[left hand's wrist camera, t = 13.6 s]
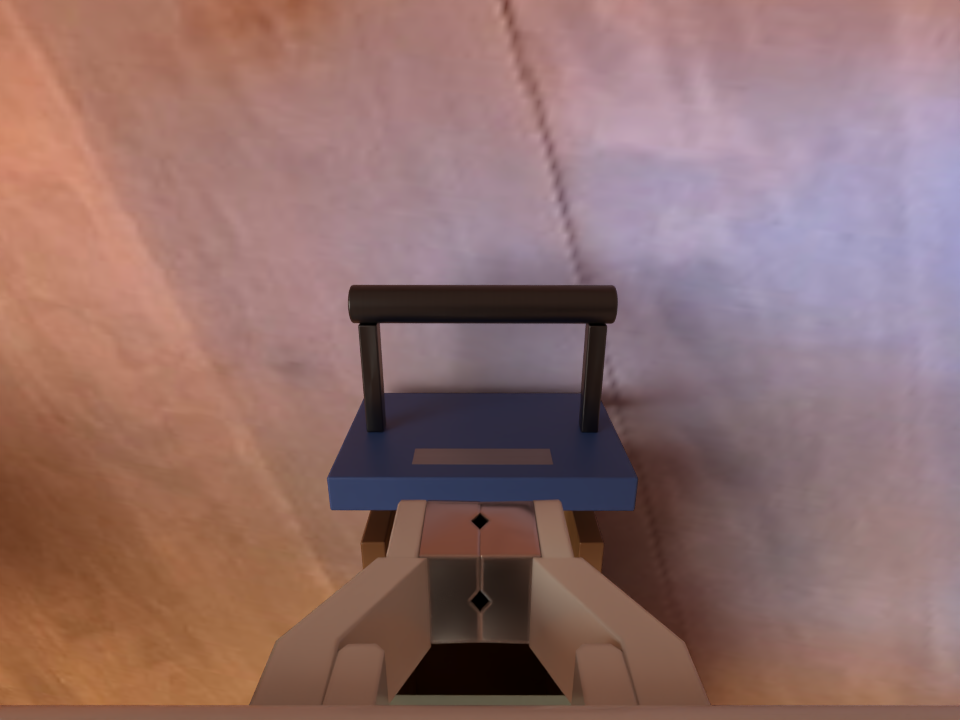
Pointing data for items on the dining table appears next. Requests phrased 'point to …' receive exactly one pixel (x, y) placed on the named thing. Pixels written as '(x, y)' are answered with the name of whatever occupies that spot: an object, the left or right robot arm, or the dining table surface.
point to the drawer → (482, 451)
